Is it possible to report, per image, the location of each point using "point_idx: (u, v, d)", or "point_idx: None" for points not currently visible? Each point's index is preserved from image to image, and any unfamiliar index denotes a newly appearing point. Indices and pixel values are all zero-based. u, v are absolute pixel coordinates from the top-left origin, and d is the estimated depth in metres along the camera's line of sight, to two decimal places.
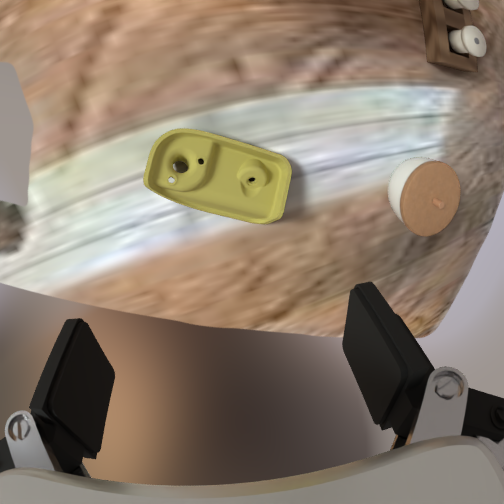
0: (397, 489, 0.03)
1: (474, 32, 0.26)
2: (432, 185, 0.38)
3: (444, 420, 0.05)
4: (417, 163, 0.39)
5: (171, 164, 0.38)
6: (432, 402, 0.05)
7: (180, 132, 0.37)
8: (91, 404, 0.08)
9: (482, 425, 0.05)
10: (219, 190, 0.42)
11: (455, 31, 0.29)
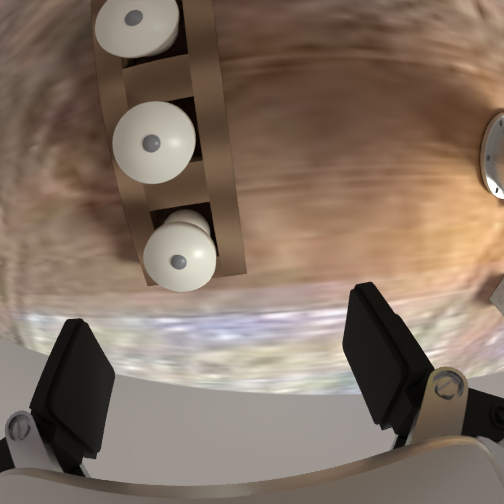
0: (397, 489, 0.03)
1: (139, 36, 0.14)
2: None
3: (444, 420, 0.05)
4: None
5: None
6: (432, 402, 0.05)
7: None
8: (91, 404, 0.08)
9: (482, 425, 0.05)
10: None
11: (168, 41, 0.17)
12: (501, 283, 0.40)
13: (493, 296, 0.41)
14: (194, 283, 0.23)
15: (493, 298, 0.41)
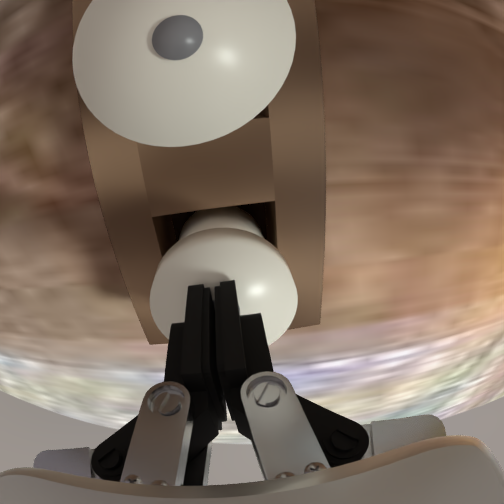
0: (397, 489, 0.03)
1: None
2: None
3: (284, 427, 0.05)
4: None
5: None
6: (259, 417, 0.06)
7: None
8: None
9: None
10: None
11: None
12: None
13: None
14: None
15: None
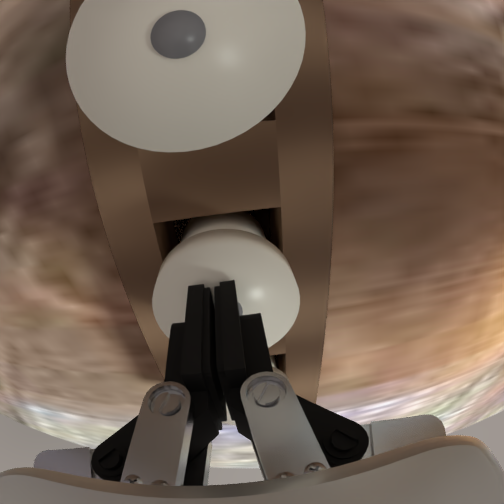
0: (397, 489, 0.03)
1: (197, 94, 0.06)
2: None
3: (284, 427, 0.05)
4: None
5: None
6: (259, 417, 0.06)
7: None
8: None
9: None
10: None
11: None
12: None
13: None
14: None
15: None
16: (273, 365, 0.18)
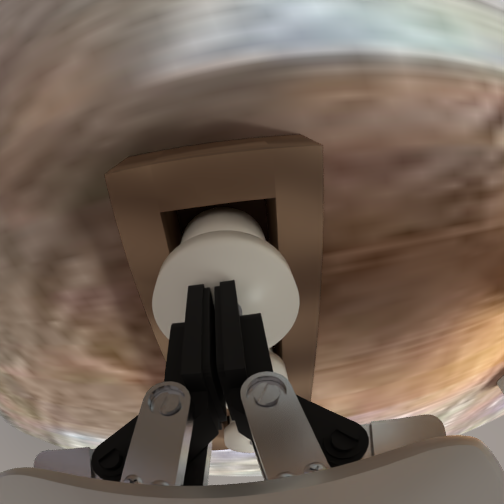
0: (397, 489, 0.03)
1: None
2: None
3: (284, 427, 0.05)
4: None
5: None
6: (259, 417, 0.06)
7: None
8: None
9: None
10: None
11: None
12: None
13: (500, 381, 0.39)
14: None
15: (500, 383, 0.39)
16: None
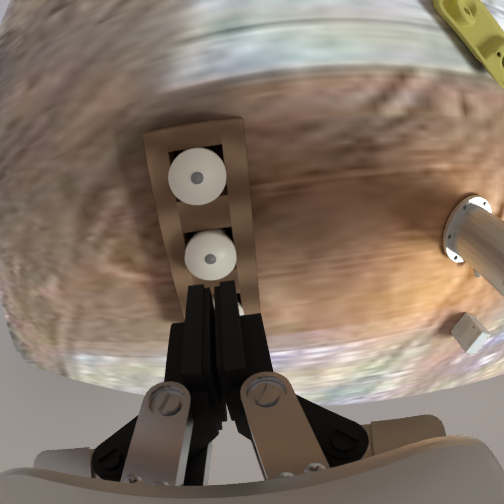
0: (397, 489, 0.03)
1: (202, 192, 0.28)
2: None
3: (284, 427, 0.05)
4: None
5: None
6: (259, 417, 0.06)
7: None
8: None
9: None
10: (491, 24, 0.21)
11: None
12: (461, 319, 0.54)
13: (453, 329, 0.55)
14: None
15: (453, 331, 0.55)
16: None
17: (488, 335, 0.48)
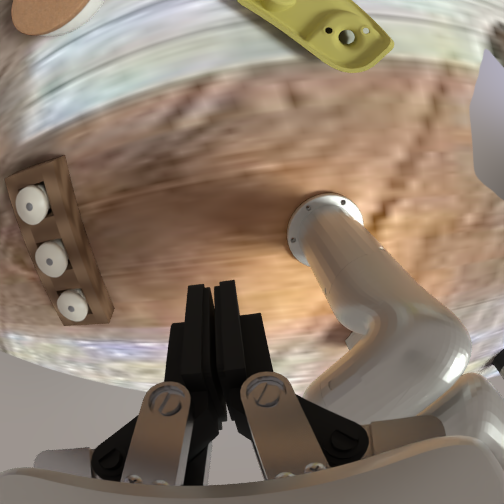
0: (397, 489, 0.03)
1: (33, 216, 0.33)
2: (55, 1, 0.18)
3: (284, 427, 0.05)
4: (76, 19, 0.21)
5: (358, 43, 0.29)
6: (259, 417, 0.06)
7: (337, 65, 0.31)
8: None
9: None
10: None
11: None
12: None
13: (348, 339, 0.59)
14: (79, 318, 0.43)
15: (348, 341, 0.59)
16: (82, 294, 0.43)
17: None
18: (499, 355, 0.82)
